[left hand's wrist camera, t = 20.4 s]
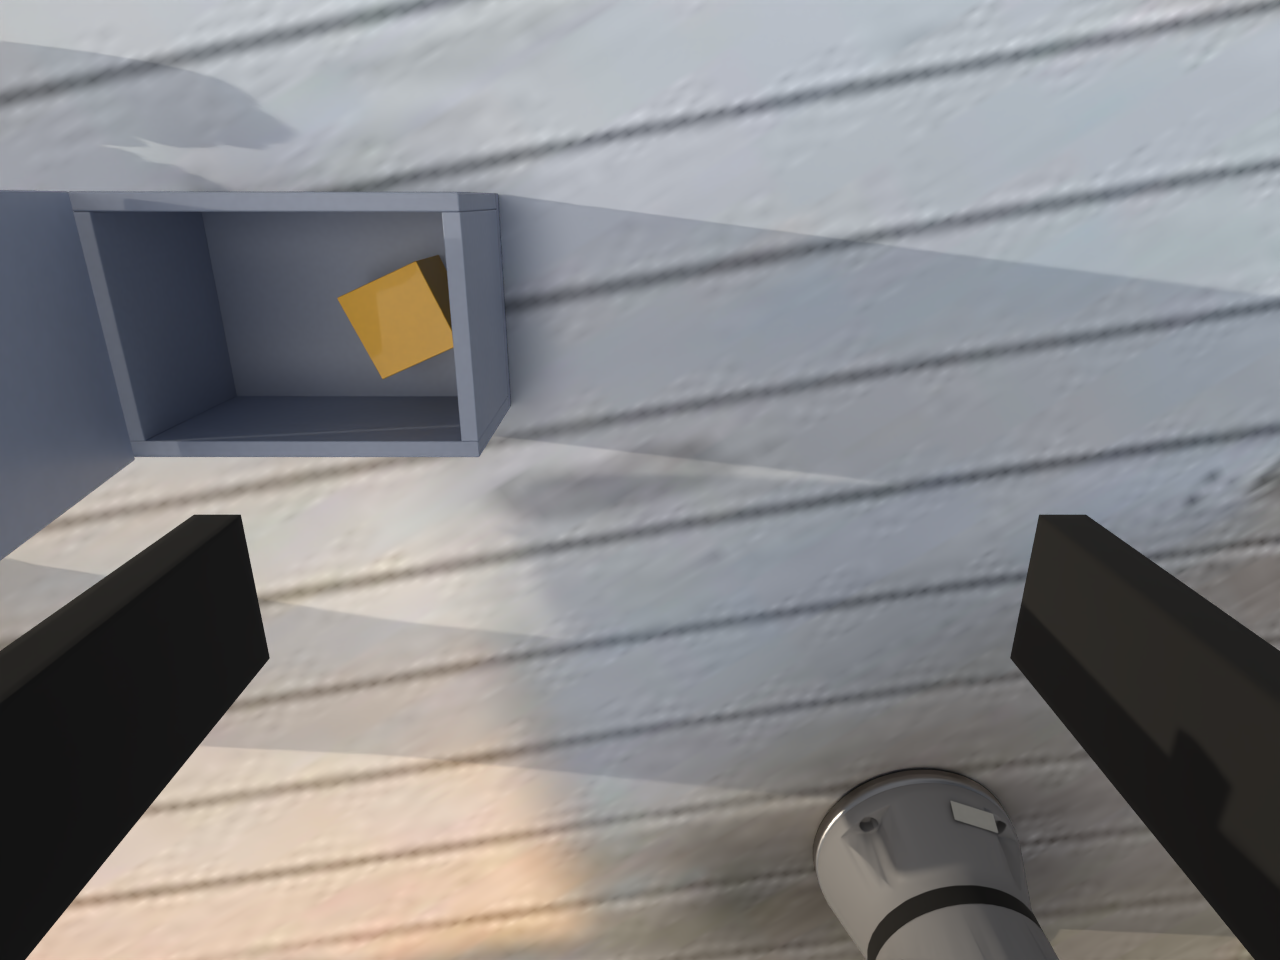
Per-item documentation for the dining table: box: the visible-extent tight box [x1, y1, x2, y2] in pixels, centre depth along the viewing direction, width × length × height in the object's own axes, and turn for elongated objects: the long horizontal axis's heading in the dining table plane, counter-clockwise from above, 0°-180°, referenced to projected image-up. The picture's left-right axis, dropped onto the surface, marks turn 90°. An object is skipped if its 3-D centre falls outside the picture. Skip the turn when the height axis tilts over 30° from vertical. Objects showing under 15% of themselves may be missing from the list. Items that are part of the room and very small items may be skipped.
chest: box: [68, 191, 511, 457], centre depth 40 cm, size 17×12×10 cm
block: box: [337, 255, 453, 379], centre depth 41 cm, size 5×5×5 cm
